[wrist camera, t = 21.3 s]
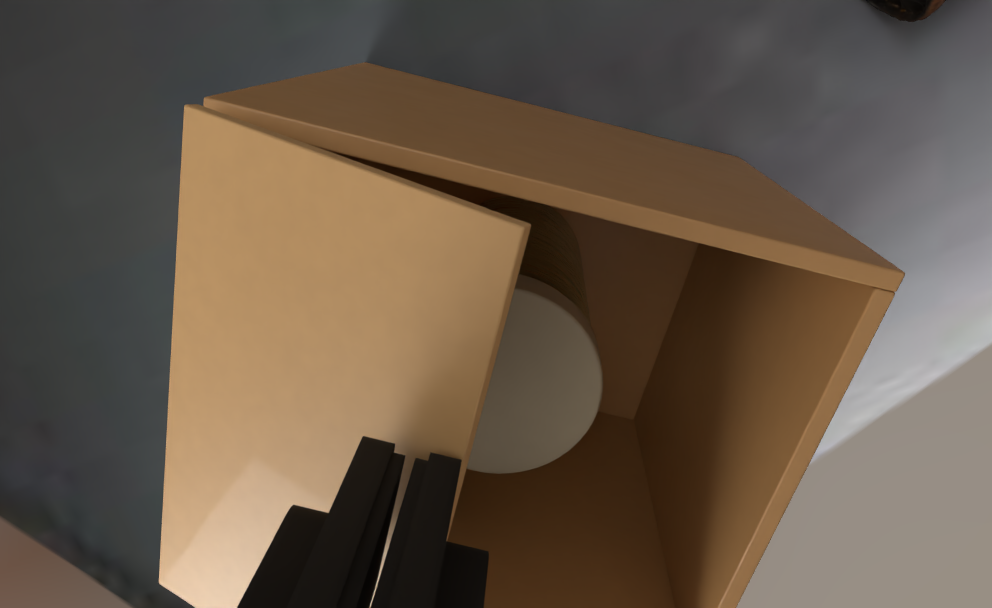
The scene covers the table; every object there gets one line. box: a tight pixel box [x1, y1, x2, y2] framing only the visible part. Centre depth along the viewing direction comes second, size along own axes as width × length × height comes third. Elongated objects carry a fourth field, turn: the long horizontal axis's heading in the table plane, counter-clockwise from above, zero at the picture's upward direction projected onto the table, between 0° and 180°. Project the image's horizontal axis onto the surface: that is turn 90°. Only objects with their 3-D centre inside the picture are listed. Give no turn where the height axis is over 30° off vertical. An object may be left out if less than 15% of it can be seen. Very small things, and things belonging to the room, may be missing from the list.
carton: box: [204, 62, 905, 608], centre depth 19 cm, size 13×11×11 cm
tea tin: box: [466, 196, 603, 474], centre depth 20 cm, size 5×5×9 cm
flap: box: [159, 104, 531, 608], centre depth 12 cm, size 6×11×1 cm, turn 168°
